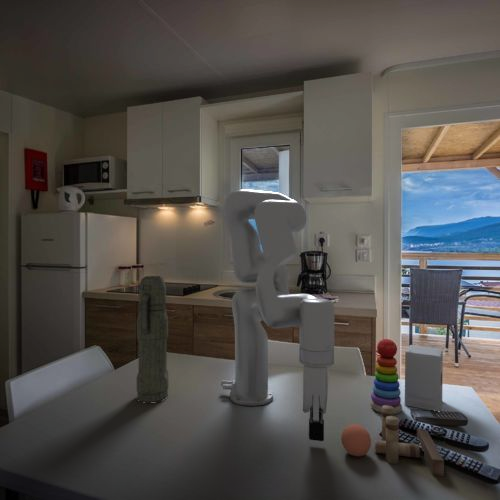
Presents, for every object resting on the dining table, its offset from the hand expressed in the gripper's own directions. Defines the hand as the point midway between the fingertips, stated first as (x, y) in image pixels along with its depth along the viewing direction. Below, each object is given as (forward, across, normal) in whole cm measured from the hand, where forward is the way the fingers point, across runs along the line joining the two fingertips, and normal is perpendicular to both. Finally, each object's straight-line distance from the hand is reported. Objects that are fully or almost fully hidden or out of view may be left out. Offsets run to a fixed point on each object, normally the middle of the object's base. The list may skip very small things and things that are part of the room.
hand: (316, 438), depth 80 cm
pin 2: (+2, +2, +15) cm, 16 cm away
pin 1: (+2, -3, +15) cm, 16 cm away
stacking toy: (+2, -22, +18) cm, 28 cm away
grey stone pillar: (+2, -16, -47) cm, 50 cm away
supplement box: (+2, -28, +29) cm, 40 cm away
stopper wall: (+2, 0, +23) cm, 23 cm away
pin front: (0, 0, +12) cm, 12 cm away
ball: (-2, +2, +8) cm, 9 cm away
